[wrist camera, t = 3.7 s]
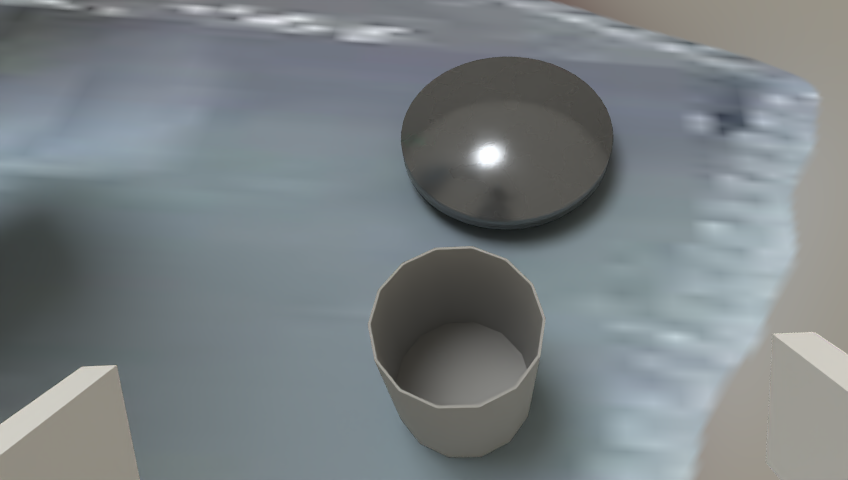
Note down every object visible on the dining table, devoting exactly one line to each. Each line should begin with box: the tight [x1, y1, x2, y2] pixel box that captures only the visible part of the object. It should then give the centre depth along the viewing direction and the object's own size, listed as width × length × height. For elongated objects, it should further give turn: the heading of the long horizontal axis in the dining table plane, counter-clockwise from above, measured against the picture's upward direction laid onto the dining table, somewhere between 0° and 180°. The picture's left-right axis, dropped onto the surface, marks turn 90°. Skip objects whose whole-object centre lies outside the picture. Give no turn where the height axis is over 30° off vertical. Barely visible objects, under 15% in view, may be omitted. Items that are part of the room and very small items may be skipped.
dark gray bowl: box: [401, 57, 613, 229], centre depth 45 cm, size 15×15×3 cm
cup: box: [368, 246, 546, 457], centre depth 34 cm, size 8×8×10 cm
